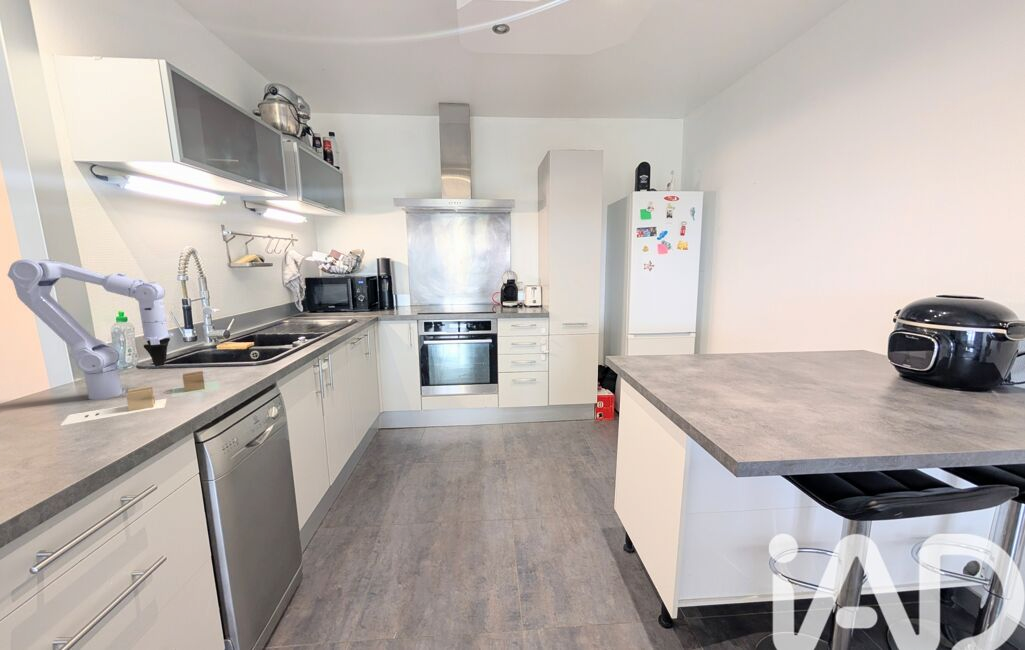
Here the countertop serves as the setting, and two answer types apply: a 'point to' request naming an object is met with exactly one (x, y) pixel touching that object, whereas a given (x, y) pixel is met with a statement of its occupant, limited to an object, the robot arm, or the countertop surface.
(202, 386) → the walnut block
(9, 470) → the countertop surface
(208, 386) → the sage pad
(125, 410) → the board
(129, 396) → the oak block
